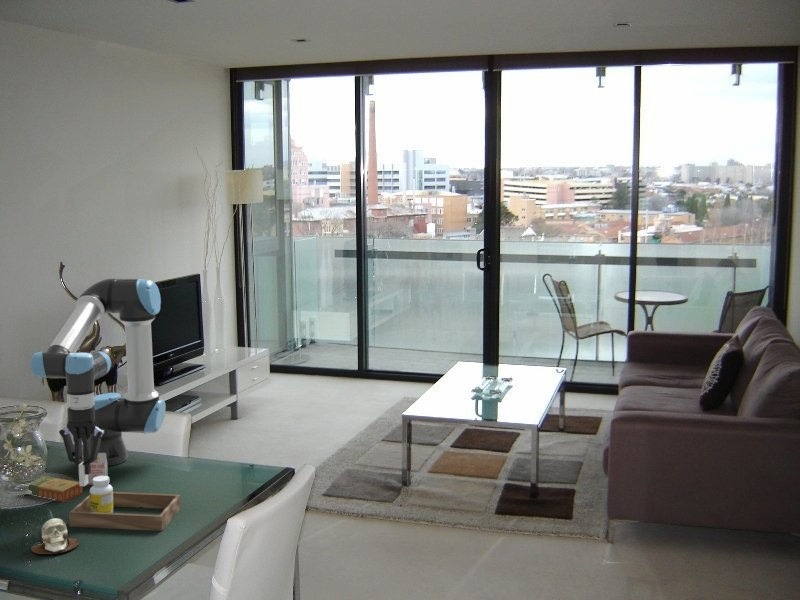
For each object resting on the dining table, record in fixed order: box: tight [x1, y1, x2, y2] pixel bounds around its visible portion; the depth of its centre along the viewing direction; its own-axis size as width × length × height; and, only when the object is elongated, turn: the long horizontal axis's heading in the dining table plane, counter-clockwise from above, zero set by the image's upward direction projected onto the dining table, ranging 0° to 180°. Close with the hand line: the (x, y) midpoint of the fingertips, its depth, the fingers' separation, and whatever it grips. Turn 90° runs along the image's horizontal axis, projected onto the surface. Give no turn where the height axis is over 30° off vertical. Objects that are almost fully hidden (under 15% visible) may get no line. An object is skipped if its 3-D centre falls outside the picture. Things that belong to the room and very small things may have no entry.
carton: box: [28, 475, 83, 503], centre depth 273 cm, size 8×16×4 cm, turn 67°
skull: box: [30, 517, 80, 555], centre depth 235 cm, size 12×10×10 cm
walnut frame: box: [68, 491, 182, 532], centre depth 256 cm, size 17×27×4 cm, turn 86°
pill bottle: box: [89, 476, 114, 513], centre depth 256 cm, size 6×6×12 cm
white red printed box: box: [86, 453, 109, 486], centre depth 283 cm, size 4×7×10 cm, turn 98°
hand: (83, 484), depth 255 cm, fingers closed
